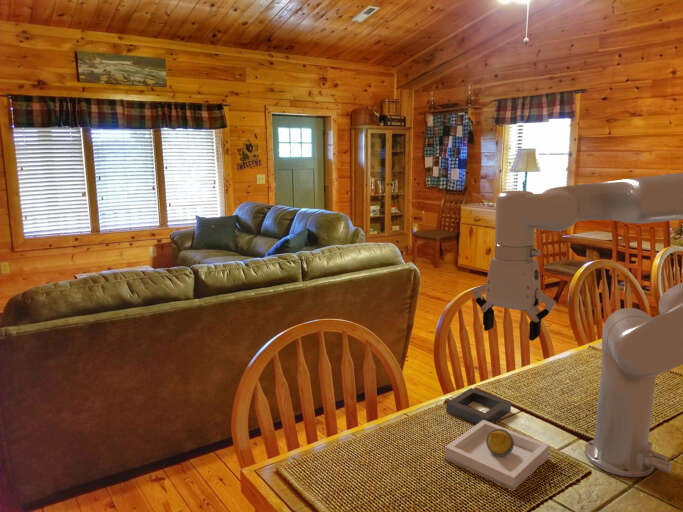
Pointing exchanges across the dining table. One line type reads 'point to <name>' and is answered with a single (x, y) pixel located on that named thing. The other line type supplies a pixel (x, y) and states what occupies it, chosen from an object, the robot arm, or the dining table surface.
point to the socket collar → (472, 395)
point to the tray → (500, 470)
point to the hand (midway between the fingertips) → (510, 333)
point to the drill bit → (500, 442)
